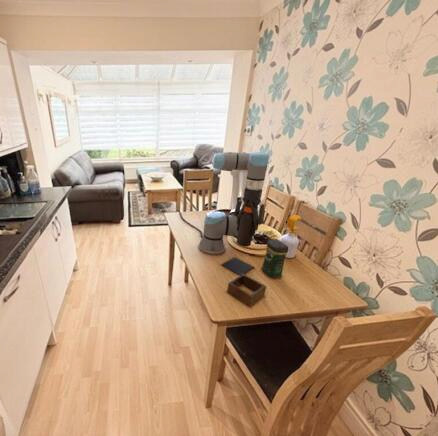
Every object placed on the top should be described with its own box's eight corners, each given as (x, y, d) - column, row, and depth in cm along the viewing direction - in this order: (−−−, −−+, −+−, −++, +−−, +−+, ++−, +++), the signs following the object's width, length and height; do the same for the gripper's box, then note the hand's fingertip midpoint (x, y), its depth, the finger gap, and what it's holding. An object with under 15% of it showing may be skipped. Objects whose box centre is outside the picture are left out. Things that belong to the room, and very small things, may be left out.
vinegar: (251, 242, 121) (259, 205, 113) (249, 248, 116) (256, 210, 107) (237, 238, 124) (244, 203, 116) (235, 244, 119) (241, 207, 111)
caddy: (227, 292, 111) (228, 282, 109) (241, 282, 117) (243, 273, 115) (249, 307, 103) (251, 297, 100) (264, 295, 109) (266, 286, 107)
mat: (221, 265, 131) (221, 264, 131) (234, 258, 137) (234, 257, 137) (240, 276, 122) (240, 275, 122) (253, 267, 129) (253, 266, 128)
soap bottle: (298, 256, 139) (309, 217, 129) (287, 259, 136) (297, 220, 126) (285, 248, 146) (294, 212, 136) (274, 251, 143) (283, 214, 133)
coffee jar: (284, 278, 120) (292, 246, 113) (269, 279, 120) (277, 247, 112) (272, 266, 129) (279, 236, 122) (258, 268, 128) (265, 237, 121)
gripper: (230, 184, 113) (224, 227, 123) (270, 195, 99) (260, 243, 108) (239, 182, 117) (232, 224, 127) (279, 191, 103) (268, 238, 112)
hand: (245, 232), depth 117 cm, fingers closed on vinegar, 7 cm apart
